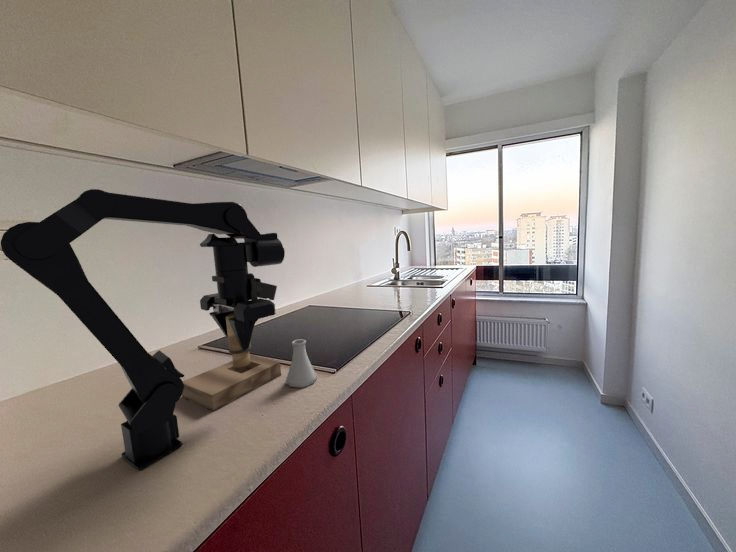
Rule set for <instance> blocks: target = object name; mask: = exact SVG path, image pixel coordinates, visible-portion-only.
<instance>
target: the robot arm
mask: <svg viewBox="0 0 736 552" xmlns="http://www.w3.org/2000/svg"><path fill="white" fill-rule="evenodd" d="M102 220H111V221H124V222H125V221H126V222H139V223H148V224H149V223H150V224H162V225H172V226H173V225H176V226H186V227H190V228H194V229H197V230H200V231H203V232H207V233H208V234H207V236H206V238H205V239H204V240H203V241H201V242H200V243H199V246H200V247H201V248H212V251H213V262H214V268H215V269H214V270H215V275H212V276H211V280H212V282H215V283H216V286H217V293H212V294H205V295H203V296H202V297H201V298H200V301H199V305H200V306H199V307H200V309H201V310H202V311H210V309H211V308H212V310H213V311H212V312H209V316H211V317H212V319H213V321H214V322H215V323H216V324H217V326H218V327H219V329H220V330H221V331H222V333H223V335H224V336H225V337H226V340H228V334H227V325H226V316H228V315H231V314H234V315H235V317H234V318H230V319H228V320H229V322H230V325H231V327H232V329H233V331H234V333H235V335H236V338H237V340H238V342H239V344H240V346H241V348H242V350H246V349H248V348H249V344H250V343H251V339H252V334H253V330H254V327H255V325H256V323H257V322H258V321H259V320H260V319H264V318H268V317H271V316H275V315H276V314H277V313H276V304H275V303H274V302H273V301H275V297H276V292H277V289H278V285H275V284H270V283H266V282H262V280H261V278H256V277H255V275H254V274H253V273H250V272H249V269H248V267H249V266H248V263H249V264H250V265H251V266H252V267H255V268H256V267H258V268H259V267H266V266H274V265H275V266H276V265H280V264H282V263H283V261H284V259H285V255H286V253H285V252H286V251H285V247H284V246H283V244H282V242H281V240H280V239H279V238H278V233H277V232H267V233H264V234H263V233H260V231H259V230H258V229H257V228H256V226H255V225H254V224H253V223H252V221H251V220H250V219H249V217H248V214H247V212H246V210H245V208H244V207H243V205H241V204H240V203H238V202H235V201H214V202H213V201H211V202H200V203H198V202H197V203H190V202H183V201H176V200H167V199H161V198H153V197H146V196H145V197H144V196H138V195H131V194H130V195H128V194H124V193H123V194H122V193H115V192H108V191H104V190H102V189H99V188H97V189H96V188H95V189H94V188H91V189H87V190H85V191H83V192H82V193H81V194H79V195H78V197H77V198H75V199H74V200H73V201H71V202H69V203H67V205H64V206H63V207H61V208H60V209H58V210H57V211H55V212H53V213H51V214H50V215H48V216H47V217H45V218H44V219H42V220H40V221H26V222H21V223H17V224H15V225H13V226H11V227H9V228H8V229H7V230H6V231H5V232H4V233H3V235H2V236H1V239H0V249H1V250H2V252H3V254H4V256H5V257H6V258H7V259H8V260H10V261H11V262H12V263H14V264H15V265H16V266H17V267H19V268H20V269H21V270H23V271H24V272H25V273H27V274H28V275H29V276H31V278H33V279H34V280H36V281H38V282H39V283H40V284H42V285H43V286H44V287H46V288H47V289H48V290H50V292H53V293H54V294H56V296H58V298H59V299H60V300H61V301H62V302H63V303H64V304H65V305H66V306H67V308H69V310H70V311H71V312H72V313H73V314H74V315H75V316H76V317H77V318H78V320H79V321H80V322H81V323H82V325H84V327H86V328H87V330H88V331H89V332H90V333H91V334H92V335H93V336H94V338H96V340H98V342H99V343H100V344H101V345H102V346H103V347H104V349H105V350H107V352H108V353H109V354H110V355H111V356H112V357H113V359H114V360H116V362H117V363H118V364H119V366H120V367H121V370H122V371H123V374H124V376H125V378H126V379H127V381H128V383H129V385H130V387H131V388H130V390H129V391H128V392H127V394H126V395H125V396H124V397H123V398H122V399H121V401H120V402H119V403H118V406H117V407H118V408H119V409H120V411H121V412H122V414H123V417H125V419H126V421H124V422H122V423H120V426H121V434H122V438H123V439H122V440H123V445H124V451H123V452H122V453H121V454H120V455H121V458H122V459H124V460H125V461H126V462H128V463H129V464H130V465H131V466H132V467H134V468H135V469H136V470H137V471H140V470H143V469H145V468H146V467H149V466H150V465H151V464H153V463H155V462H157V461H158V460H160V459H162V458H163V457H165V456H167V455H168V454H170V453H172V452H174V451H176V450H177V449H179V448H180V447H182V446H183V441H181V440H180V439H179V438H180V432H179V431H180V430H179V424H178V423H179V422H178V416H177V415H176V414H174V412H175V409H176V404H177V402H178V401H179V400H180V399H181V398H182V393H183V390H184V383H183V381H184V380H182V378H184V377H185V374H183V372H181V371H180V370H178V368H176V367H175V365H174V363H173V361H172V359H171V357H169V356H168V355H166V353H164V352H163V351H161V350H157V351H156V352H155V353H153V355H152V354H151V353H149V352H148V351H147V350H146V349H145V348H144V346H143V345H142V344H141V343H140V342H139V340H138V339H137V338H136V337H135V335H134V334H133V333H132V332H131V331H130V330H129V327H127V326H126V324H125V323H124V322H123V321H122V320H121V319H120V317H119V316H118V315H117V314H116V313H115V311H114V310H113V309H112V308H111V306H110V305H109V304H108V303H107V301H106V300H105V299H104V298H103V297H102V296H101V294H100V293H99V292H98V290H96V288H95V287H94V286H93V285H92V283H91V282H90V281H89V280H88V278H87V276H86V273H85V271H84V269H83V266H82V264H81V262H80V260H79V258H78V256H77V254H76V253H75V250H74V249H73V247H72V245H71V243H72V242H74V241H75V240H76V239H78V238H79V237H81V236H82V235H83V234H85V233H86V232H88V231H89V230H90V229H91V228H93V227H94V226H95V225H97V224H98V223H100V222H101V221H102ZM217 235H226V236H228V237H219V236H217ZM240 239H242V240H244V241H243V242H238V240H240Z"/></svg>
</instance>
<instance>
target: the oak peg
mask: <svg viewBox="0 0 736 552" xmlns="http://www.w3.org/2000/svg"><path fill="white" fill-rule="evenodd" d="M234 317H235V315H234V314H231V315H228V316H226V325H227V334H228V339H227V343H228V353H229V354H231V357H232V361H233V366H234V367H244V366H247V365H249V364H250V354H251V353H250V351H251V350H252V343H251V342H250V344H249V348H248V349H246V350H242V348H241V346H240V344H239V342H238V340H237V338H236V335H235V333H234V331H233V329H232V327H231V325H230V322H229V320H228V319H230V318H234Z"/></svg>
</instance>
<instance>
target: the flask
mask: <svg viewBox="0 0 736 552" xmlns="http://www.w3.org/2000/svg"><path fill="white" fill-rule="evenodd" d="M306 343H307V340H306V339H300V338H298V339H295V340H293V341H291V345H292V349H293V351H292V358H291V363H290V366H289V370H288V372H287V376H286V379H285V384H286V385H288V386H289V387H291V388H305V387H309V386H311V385H313V384H315V382H316V380H317V379H318V375H317V374H316V371H315V369H314V367H313V365H312V364H311V363H312V362H311V361H310V359H309V357H308V353H307V351H306V350H307V349H306Z"/></svg>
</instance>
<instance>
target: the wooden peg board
mask: <svg viewBox="0 0 736 552" xmlns="http://www.w3.org/2000/svg"><path fill="white" fill-rule="evenodd" d="M249 354H250V364H249V365H247V366H244V367H234V366H233V360H231V361H228V362H226V363H223V364H221V365H220V366H217V367H214V368H212V369H209V370H207V371H204V372H202V373H200V374H197V375H195V376H192V377H189V378H187V379H185V380H182V381H183V383H184V390H183V393H182V395H181V398H183V399H186V400H188V401H189V402H192V403H195V404H196V405H198V406H201V407H203V408H205V409H208V410H210V411H211V412H216V411H218V410H219V409H222V408H223V407H225V406H227V405H228V404H230V403H232V402H234V401H236V400H238V399H240V398H241V397H244V396H245V395H247V394H248V393H251V392H252V391H254V390H256V389H258V388H260V387H262V386H264V385H265V384H267V383H269V382H271V381H273V380H275V379H277V378H279V377H281V375H282V369H281V367H282V366H281V361H280V360H279V361H278V360H273V359H270V358H267V357H263V356H258V355H255V354H251V353H249Z"/></svg>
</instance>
